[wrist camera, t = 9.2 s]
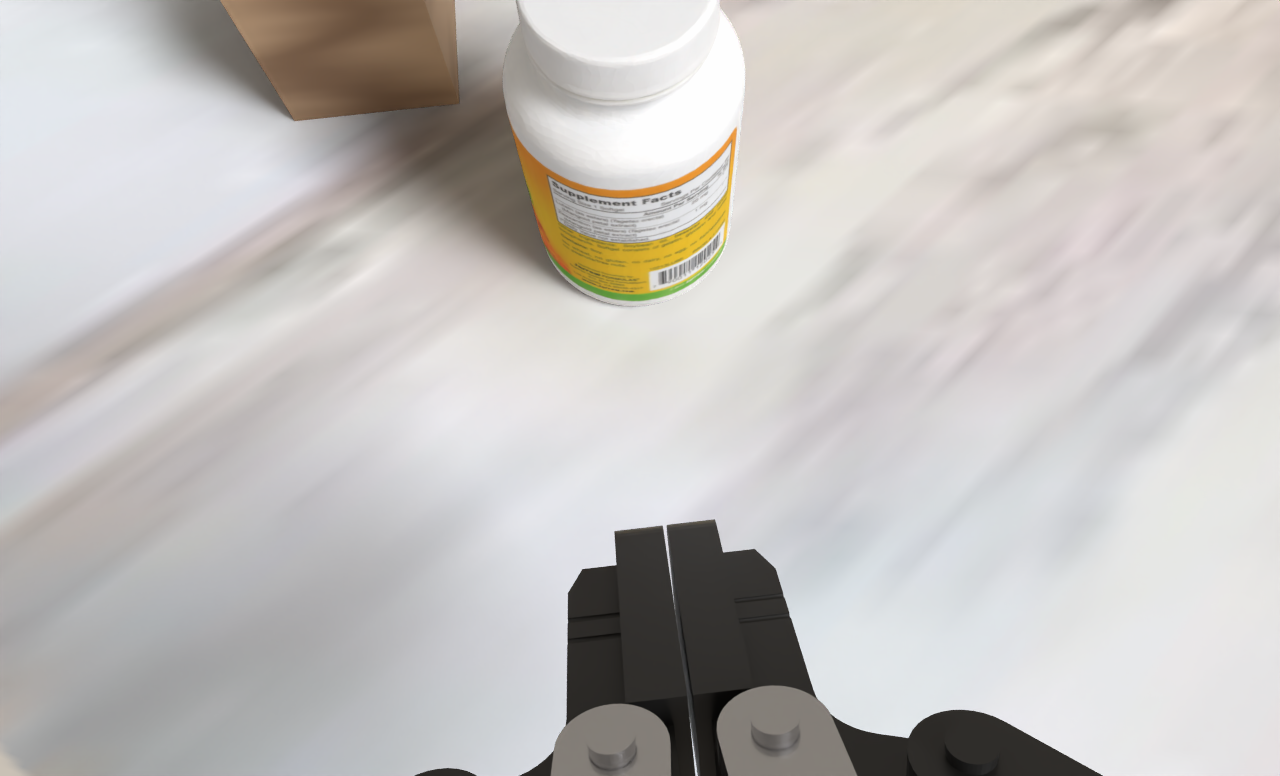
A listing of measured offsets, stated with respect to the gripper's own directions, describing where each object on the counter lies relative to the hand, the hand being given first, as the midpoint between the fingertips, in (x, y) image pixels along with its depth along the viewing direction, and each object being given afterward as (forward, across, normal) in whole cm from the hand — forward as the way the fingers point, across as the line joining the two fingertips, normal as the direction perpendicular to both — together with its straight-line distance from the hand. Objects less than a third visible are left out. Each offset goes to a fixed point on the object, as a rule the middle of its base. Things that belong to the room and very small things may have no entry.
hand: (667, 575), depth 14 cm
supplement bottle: (+15, 0, -1) cm, 15 cm away
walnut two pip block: (+21, +7, -6) cm, 23 cm away
